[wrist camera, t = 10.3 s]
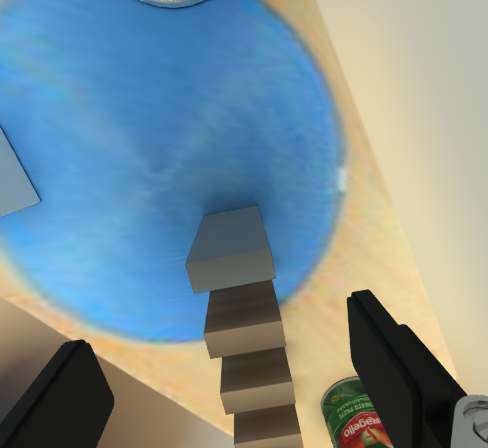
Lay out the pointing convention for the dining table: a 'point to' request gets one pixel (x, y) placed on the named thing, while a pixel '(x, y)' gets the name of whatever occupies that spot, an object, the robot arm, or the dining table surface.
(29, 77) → the dining table surface
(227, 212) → the charcoal domino
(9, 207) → the milk carton
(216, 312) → the walnut domino
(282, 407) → the walnut domino
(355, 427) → the canned tomato
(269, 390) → the walnut domino
